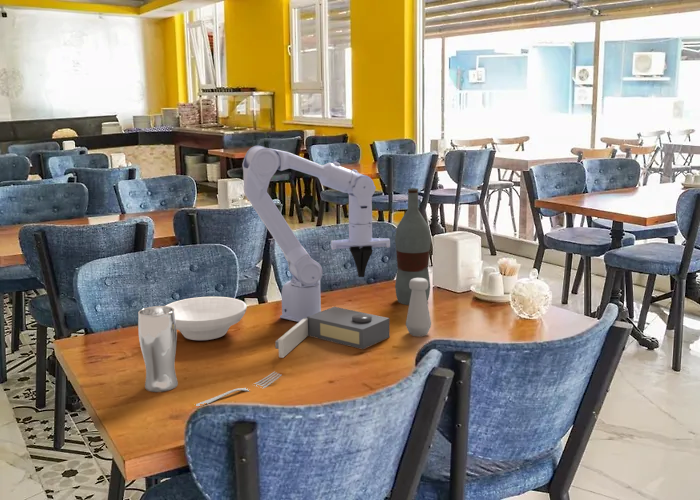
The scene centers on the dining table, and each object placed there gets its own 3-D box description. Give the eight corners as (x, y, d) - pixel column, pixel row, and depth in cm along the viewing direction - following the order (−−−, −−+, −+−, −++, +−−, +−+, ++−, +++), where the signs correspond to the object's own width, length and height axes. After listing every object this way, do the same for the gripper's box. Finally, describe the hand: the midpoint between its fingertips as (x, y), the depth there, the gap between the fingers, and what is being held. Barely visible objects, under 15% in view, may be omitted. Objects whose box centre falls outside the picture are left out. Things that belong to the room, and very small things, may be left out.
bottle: (437, 300, 197) (438, 188, 191) (416, 307, 190) (417, 192, 184) (408, 294, 203) (409, 185, 197) (388, 301, 197) (387, 189, 190)
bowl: (265, 335, 171) (264, 306, 170) (195, 357, 157) (193, 326, 156) (213, 318, 184) (212, 292, 183) (144, 337, 170) (142, 309, 169)
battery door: (300, 334, 170) (300, 317, 170) (308, 334, 170) (308, 318, 169) (274, 356, 156) (273, 338, 155) (283, 357, 155) (282, 339, 155)
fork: (162, 415, 130) (161, 405, 129) (274, 379, 146) (273, 370, 145) (171, 421, 127) (170, 411, 127) (283, 383, 143) (283, 374, 143)
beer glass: (146, 380, 145) (140, 306, 142) (182, 378, 145) (177, 304, 142) (139, 394, 138) (133, 316, 135) (177, 392, 139) (172, 315, 135)
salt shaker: (429, 338, 167) (430, 282, 164) (404, 337, 168) (404, 281, 165) (432, 330, 172) (432, 276, 170) (407, 329, 174) (407, 275, 171)
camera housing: (307, 335, 170) (306, 313, 169) (334, 324, 178) (334, 303, 177) (362, 349, 160) (362, 326, 159) (389, 337, 168) (389, 314, 167)
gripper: (386, 218, 187) (386, 271, 190) (329, 220, 186) (330, 273, 189) (391, 223, 181) (391, 277, 183) (332, 225, 179) (333, 280, 182)
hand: (361, 276), depth 186 cm, fingers closed
